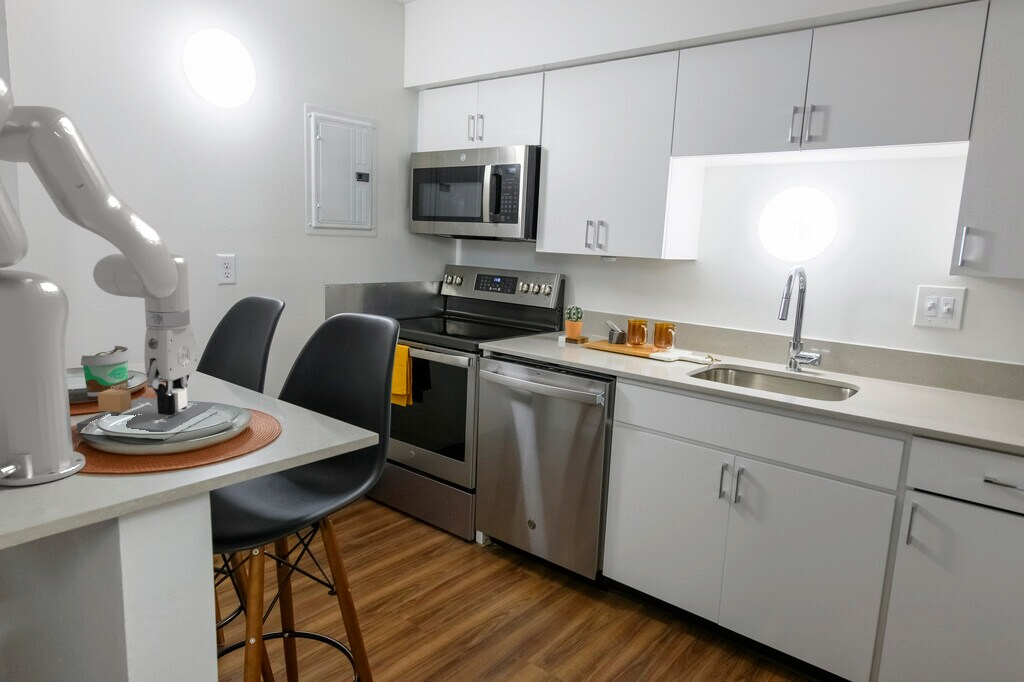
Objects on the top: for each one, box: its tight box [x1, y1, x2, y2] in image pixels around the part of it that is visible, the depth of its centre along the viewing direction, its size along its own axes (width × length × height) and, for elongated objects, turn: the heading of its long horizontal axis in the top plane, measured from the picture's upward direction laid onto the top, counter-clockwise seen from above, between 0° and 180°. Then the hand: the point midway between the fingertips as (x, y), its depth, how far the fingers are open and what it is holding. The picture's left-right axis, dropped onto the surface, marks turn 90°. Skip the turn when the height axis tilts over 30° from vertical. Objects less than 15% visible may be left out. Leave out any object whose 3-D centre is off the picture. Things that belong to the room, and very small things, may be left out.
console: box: [76, 397, 218, 435], centre depth 128 cm, size 18×17×2 cm
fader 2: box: [155, 388, 188, 413], centre depth 126 cm, size 3×4×5 cm
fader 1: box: [97, 389, 132, 416], centre depth 123 cm, size 3×4×5 cm
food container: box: [80, 345, 132, 401], centre depth 144 cm, size 12×6×10 cm, turn 179°
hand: (172, 410), depth 127 cm, fingers closed on fader 2, 3 cm apart
